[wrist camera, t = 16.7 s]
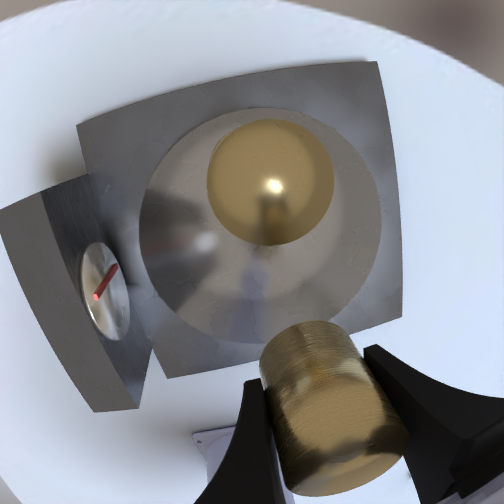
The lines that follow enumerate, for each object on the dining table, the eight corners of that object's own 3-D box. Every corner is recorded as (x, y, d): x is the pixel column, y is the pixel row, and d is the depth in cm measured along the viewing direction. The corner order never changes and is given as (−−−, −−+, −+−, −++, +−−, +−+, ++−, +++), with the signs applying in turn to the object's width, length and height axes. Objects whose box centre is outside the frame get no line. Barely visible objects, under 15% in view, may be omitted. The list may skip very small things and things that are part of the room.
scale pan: (381, 304, 21) (385, 310, 20) (183, 356, 21) (183, 363, 20) (357, 93, 16) (363, 92, 15) (112, 146, 16) (108, 147, 15)
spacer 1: (301, 196, 17) (344, 226, 12) (222, 218, 17) (227, 260, 11) (282, 116, 16) (318, 106, 10) (198, 138, 15) (190, 138, 10)
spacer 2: (355, 375, 15) (405, 466, 9) (272, 404, 15) (297, 506, 9) (345, 306, 13) (414, 404, 8) (246, 339, 13) (268, 457, 8)
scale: (394, 309, 23) (442, 361, 17) (133, 374, 23) (117, 442, 16) (368, 64, 17) (433, 42, 10) (44, 142, 16) (-22, 151, 10)
